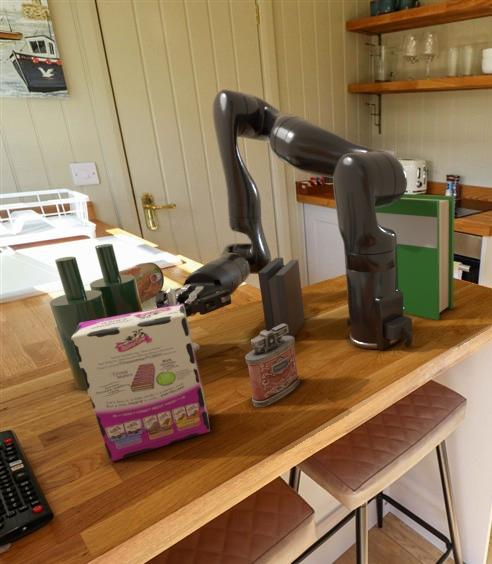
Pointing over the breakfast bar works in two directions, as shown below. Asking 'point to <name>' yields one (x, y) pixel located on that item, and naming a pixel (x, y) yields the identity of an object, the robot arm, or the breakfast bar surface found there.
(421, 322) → the breakfast bar surface
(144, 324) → the candy bar box
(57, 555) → the breakfast bar surface
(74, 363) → the wine bottles
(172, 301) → the screw
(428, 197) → the hardback book
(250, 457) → the breakfast bar surface
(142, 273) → the tin
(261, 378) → the lighter
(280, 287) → the dark grey grooved block
